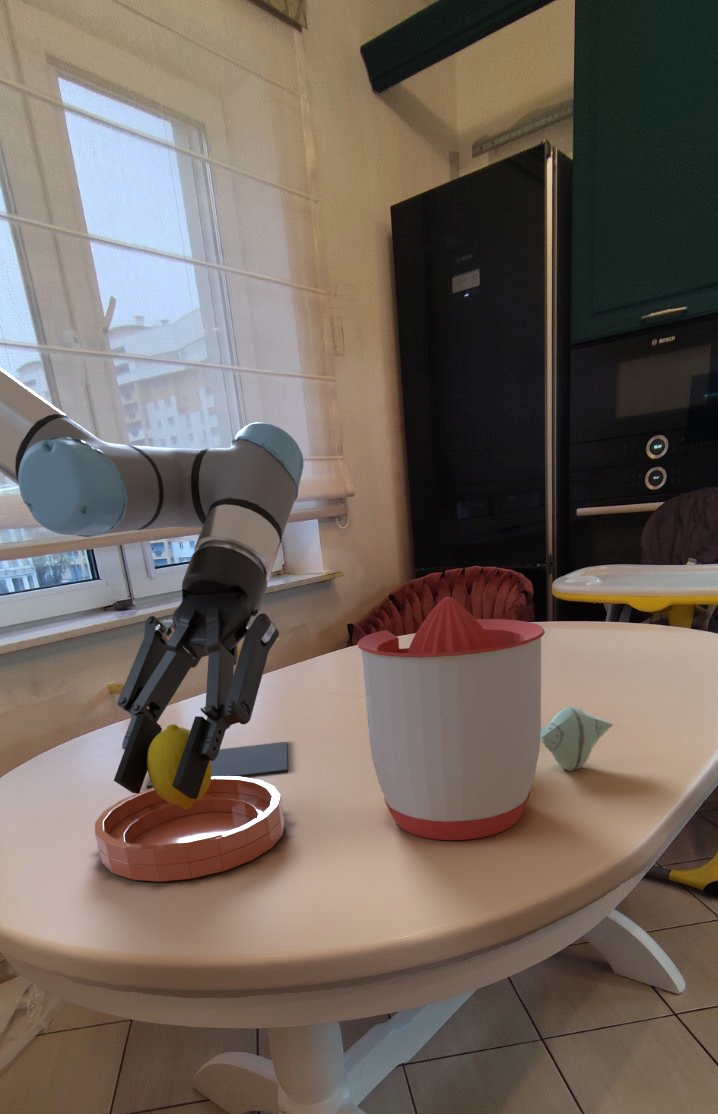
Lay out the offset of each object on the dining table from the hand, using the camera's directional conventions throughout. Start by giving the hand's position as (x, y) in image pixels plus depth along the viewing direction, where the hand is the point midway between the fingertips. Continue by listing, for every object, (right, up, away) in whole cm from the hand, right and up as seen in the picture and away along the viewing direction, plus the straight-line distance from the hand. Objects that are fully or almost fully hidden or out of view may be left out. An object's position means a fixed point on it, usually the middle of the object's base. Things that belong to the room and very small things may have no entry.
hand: (155, 789), depth 62 cm
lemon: (+2, -2, +4) cm, 5 cm away
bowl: (+2, -5, +5) cm, 8 cm away
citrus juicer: (+26, -2, +6) cm, 27 cm away
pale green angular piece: (+40, +2, +14) cm, 42 cm away
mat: (+1, +3, +26) cm, 26 cm away
